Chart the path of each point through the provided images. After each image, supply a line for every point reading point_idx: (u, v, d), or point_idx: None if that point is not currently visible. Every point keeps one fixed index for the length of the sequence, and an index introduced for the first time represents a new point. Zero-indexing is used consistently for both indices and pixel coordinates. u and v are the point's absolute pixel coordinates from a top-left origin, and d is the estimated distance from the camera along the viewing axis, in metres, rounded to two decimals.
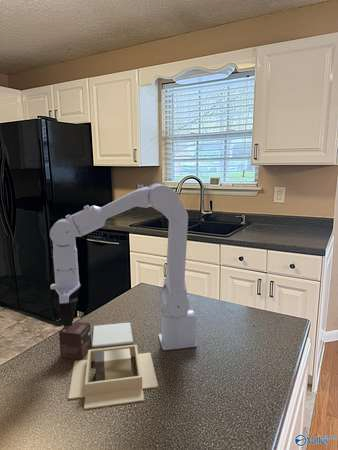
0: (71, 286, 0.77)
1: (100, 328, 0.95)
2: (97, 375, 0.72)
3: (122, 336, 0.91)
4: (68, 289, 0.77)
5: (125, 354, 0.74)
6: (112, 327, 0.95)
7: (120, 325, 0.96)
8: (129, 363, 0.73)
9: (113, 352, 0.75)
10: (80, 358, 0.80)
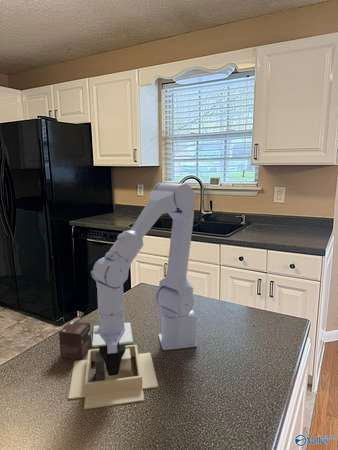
0: (117, 331, 0.70)
1: None
2: (97, 375, 0.72)
3: (122, 336, 0.91)
4: (114, 335, 0.70)
5: (125, 354, 0.74)
6: None
7: None
8: (129, 363, 0.73)
9: None
10: (80, 358, 0.80)
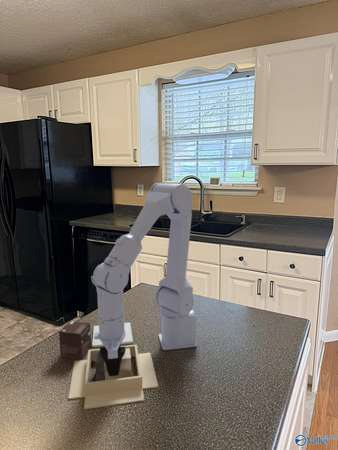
0: (117, 336, 0.71)
1: None
2: (97, 375, 0.72)
3: None
4: (115, 340, 0.70)
5: (125, 354, 0.74)
6: None
7: None
8: (129, 363, 0.73)
9: None
10: (80, 358, 0.80)
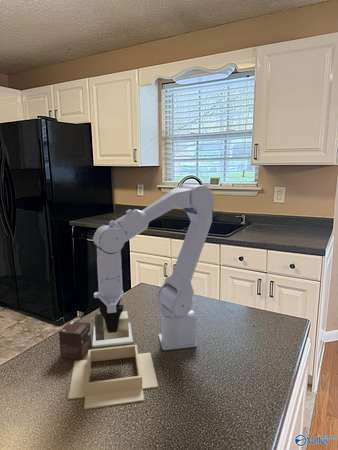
0: (116, 294, 0.75)
1: None
2: (96, 334, 0.76)
3: None
4: (113, 298, 0.75)
5: (123, 315, 0.79)
6: None
7: None
8: (127, 323, 0.77)
9: None
10: (80, 358, 0.80)
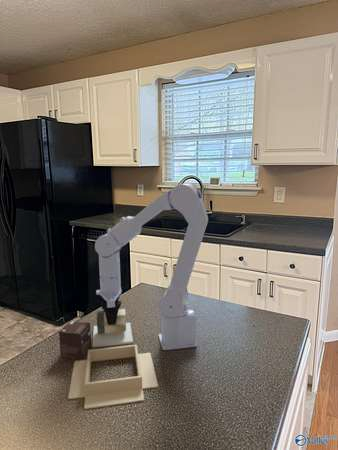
0: (115, 292, 0.87)
1: None
2: (98, 328, 0.89)
3: (122, 336, 0.91)
4: (113, 295, 0.87)
5: (121, 312, 0.91)
6: None
7: None
8: (124, 319, 0.90)
9: None
10: (80, 358, 0.80)
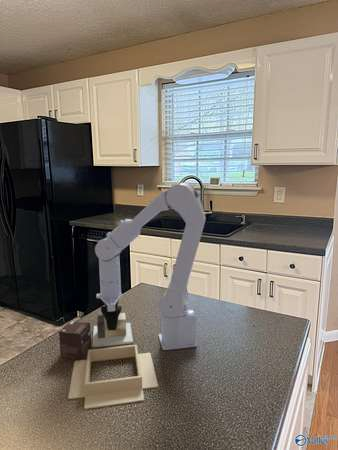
0: (115, 295, 0.88)
1: None
2: (98, 332, 0.89)
3: (122, 336, 0.91)
4: (113, 298, 0.87)
5: (121, 316, 0.91)
6: None
7: None
8: (124, 323, 0.90)
9: None
10: (80, 358, 0.80)
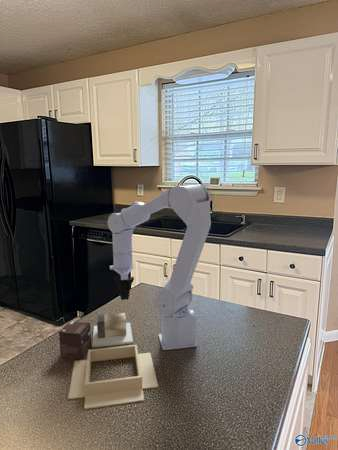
0: (127, 266, 0.94)
1: None
2: (98, 332, 0.89)
3: (122, 336, 0.91)
4: (125, 269, 0.94)
5: (121, 316, 0.91)
6: None
7: None
8: (124, 323, 0.90)
9: (111, 315, 0.92)
10: (80, 358, 0.80)
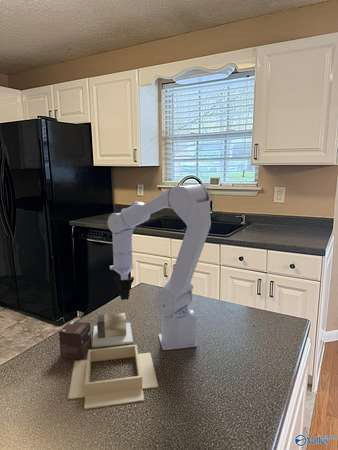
0: (127, 266, 0.94)
1: None
2: (98, 332, 0.89)
3: (122, 336, 0.91)
4: (125, 269, 0.94)
5: (121, 316, 0.91)
6: None
7: None
8: (124, 323, 0.90)
9: (111, 315, 0.92)
10: (80, 358, 0.80)
